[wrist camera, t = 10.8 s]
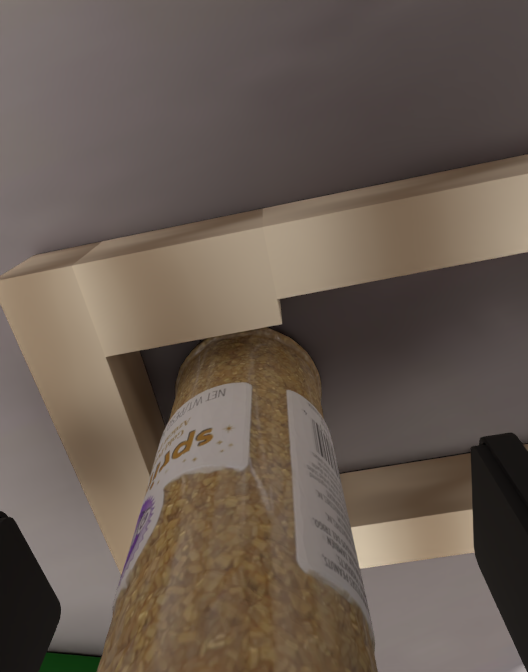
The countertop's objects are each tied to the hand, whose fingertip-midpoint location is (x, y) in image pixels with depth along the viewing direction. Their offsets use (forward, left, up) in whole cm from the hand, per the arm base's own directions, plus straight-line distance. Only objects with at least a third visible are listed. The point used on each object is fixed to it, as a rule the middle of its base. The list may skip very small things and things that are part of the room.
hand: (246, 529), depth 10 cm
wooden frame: (-3, 0, -6) cm, 7 cm away
